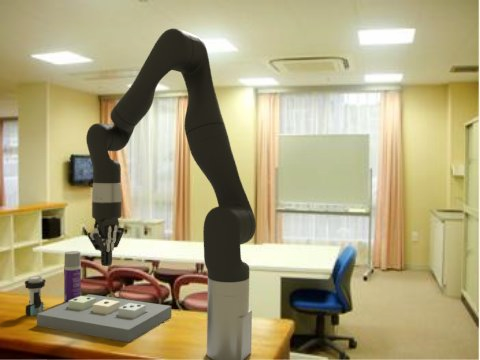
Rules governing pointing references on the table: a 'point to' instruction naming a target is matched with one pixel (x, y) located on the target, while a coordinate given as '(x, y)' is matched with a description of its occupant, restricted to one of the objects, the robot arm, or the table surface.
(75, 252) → the container
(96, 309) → the tile one pip
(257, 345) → the table surface
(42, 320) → the button board
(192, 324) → the table surface
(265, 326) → the table surface
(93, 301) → the tile two pips
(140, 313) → the tile three pips
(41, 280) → the push button
